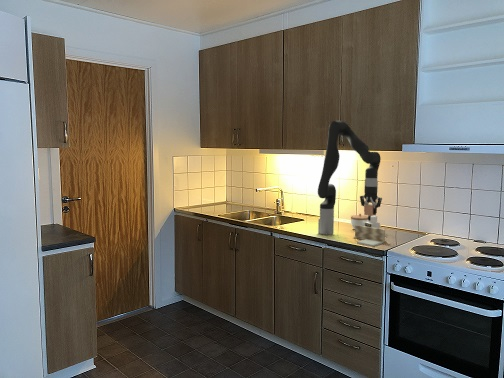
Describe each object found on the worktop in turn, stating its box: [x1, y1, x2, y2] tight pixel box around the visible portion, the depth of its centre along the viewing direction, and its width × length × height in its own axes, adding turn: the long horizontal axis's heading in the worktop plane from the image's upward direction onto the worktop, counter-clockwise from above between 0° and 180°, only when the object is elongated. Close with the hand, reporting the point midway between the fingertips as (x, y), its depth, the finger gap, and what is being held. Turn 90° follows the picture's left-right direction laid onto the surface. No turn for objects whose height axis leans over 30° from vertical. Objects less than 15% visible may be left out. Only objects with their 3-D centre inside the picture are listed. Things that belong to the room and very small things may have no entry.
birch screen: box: [353, 225, 387, 244], centre depth 267 cm, size 20×5×8 cm, turn 44°
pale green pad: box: [356, 239, 383, 247], centre depth 258 cm, size 11×10×1 cm
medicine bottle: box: [365, 214, 381, 229], centre depth 288 cm, size 7×7×12 cm
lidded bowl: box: [350, 213, 369, 230], centre depth 299 cm, size 13×13×11 cm
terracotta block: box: [363, 203, 377, 216], centre depth 256 cm, size 5×5×6 cm
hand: (370, 213), depth 256 cm, fingers closed on terracotta block, 5 cm apart
